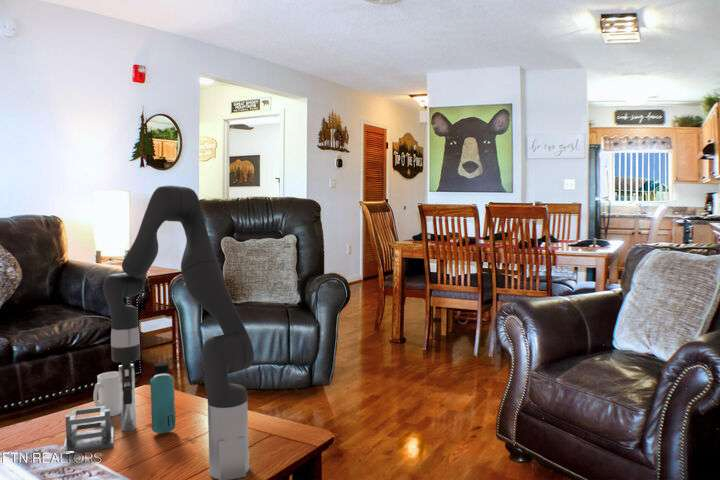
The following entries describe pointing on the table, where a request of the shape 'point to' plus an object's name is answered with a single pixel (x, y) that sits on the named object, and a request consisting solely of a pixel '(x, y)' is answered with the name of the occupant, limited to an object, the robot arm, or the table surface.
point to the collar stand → (88, 438)
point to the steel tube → (128, 409)
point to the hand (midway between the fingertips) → (127, 399)
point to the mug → (108, 392)
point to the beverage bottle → (162, 400)
